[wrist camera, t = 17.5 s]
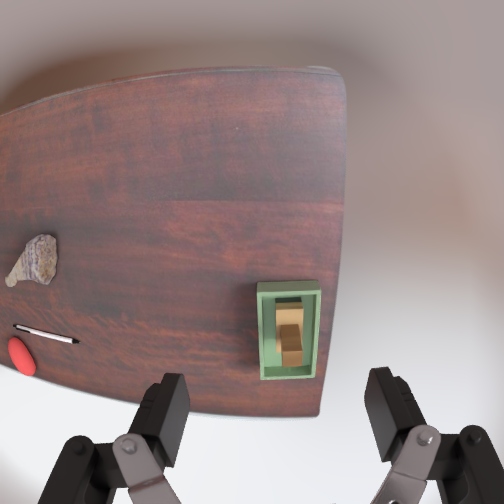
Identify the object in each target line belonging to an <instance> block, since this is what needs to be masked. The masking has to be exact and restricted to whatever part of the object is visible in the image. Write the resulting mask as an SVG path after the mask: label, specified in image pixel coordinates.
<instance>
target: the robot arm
mask: <svg viewBox="0 0 504 504" xmlns="http://www.w3.org/2000/svg"><path fill="white" fill-rule="evenodd" d="M364 399H365V400H364V401H365V407H366V410H367V413H368V416H369V420H370V423H371V426H372V429H373V433H374V436H375V440H376V443H377V447H378V450H379V454H380V457H381V461H382V462H387V461H391V465H392V467H391V469H390V471H389V473H388V474H387V476H386V478H385V480H384V482H383V483H382V485H381V487H380V489H379V490H378V492H377V494H376V496H375V497H374V499H373V500H372V502H371V503H370V504H418V503H419V501H420V499H421V497H422V495H423V492H424V490H425V488H426V485H427V481H426V480H436V482H437V486H438V489H439V492H440V496H441V500H442V504H504V469H503V467H502V464H501V462H500V460H499V458H498V455H497V453H496V451H495V449H494V447H493V445H492V443H491V440H490V438H489V436H488V434H487V432H486V431H485V430H484V429H483V428H482V427H480V426H476V425H469V426H466V427H465V428H463V429H462V430H461V432H460V434H441V433H439V431H438V430H437V429H436V428H434V427H432V426H429V425H427V423H426V421H425V419H424V417H423V415H422V413H421V410H420V408H419V406H418V404H417V402H416V400H415V398H414V396H413V394H412V393H411V390H410V388H409V386H408V384H407V382H405V381H404V380H403V379H402V378H400V376H397V377H393V375H392V373H391V371H390V369H389V368H388V367H380V368H372V369H371V370H370V373H369V377H368V382H367V386H366V390H365V395H364ZM189 409H190V398H189V394H188V390H187V386H186V382H185V378H184V375H183V374H177V373H165V374H164V377H163V379H162V381H161V384H159V383H154V384H153V385H152V386H151V387H150V388H149V389H147V390H146V393H145V395H144V397H143V401H141V404H140V408H138V411H137V413H136V415H135V417H134V420H133V422H132V424H131V427H130V429H129V431H128V433H127V434H123V435H121V436H119V437H118V438H117V439H116V440H115V441H114V442H113V443H101V444H94V443H93V442H92V441H91V440H90V439H89V438H88V437H86V436H81V435H79V436H74V437H72V438H70V439H69V440H68V441H67V442H66V443H65V445H64V447H63V449H62V451H61V453H60V455H59V457H58V459H57V461H56V464H55V466H54V468H53V470H52V472H51V474H50V477H49V479H48V481H47V483H46V486H45V488H44V490H43V492H42V495H41V497H40V499H39V502H38V504H112V503H113V499H114V496H115V492H116V489H117V488H127V487H128V488H129V489H128V493H129V495H130V498H131V500H132V502H133V504H181V502H180V501H179V499H178V497H177V496H176V494H175V493H174V491H173V489H172V488H171V486H170V484H169V483H168V481H167V479H166V478H165V476H164V475H163V473H164V469H165V467H172V468H173V467H174V464H175V461H176V457H177V453H178V449H179V446H180V442H181V439H182V435H183V431H184V428H185V424H186V421H187V417H188V413H189Z"/></svg>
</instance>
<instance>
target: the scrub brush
mask: <svg viewBox="0 0 504 504" xmlns="http://www.w3.org/2000/svg"><path fill="white" fill-rule="evenodd" d="M275 326H276V353H281V356H282V367H295V366H302V358H303V349H302V335H303V305H302V300H301V297H287V298H275Z"/></svg>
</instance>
